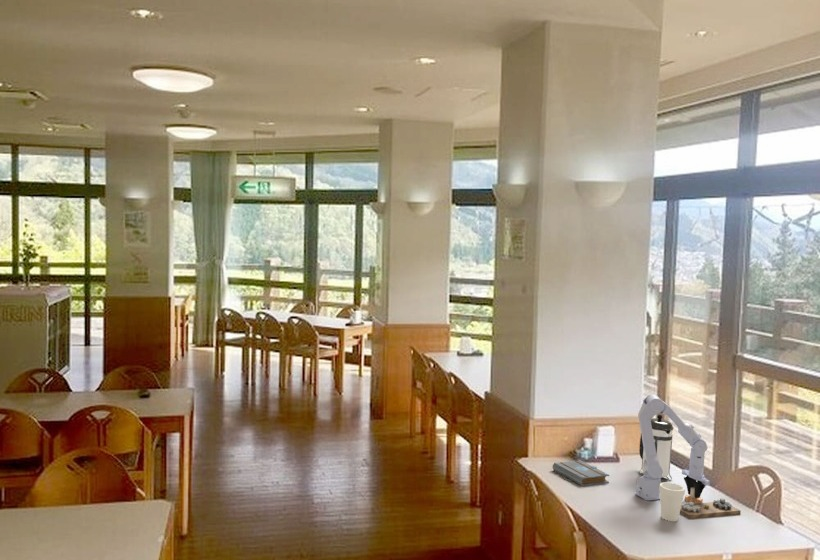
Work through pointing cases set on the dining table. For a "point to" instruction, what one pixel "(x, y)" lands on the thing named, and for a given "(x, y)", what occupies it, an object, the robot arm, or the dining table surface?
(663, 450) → the coffee press
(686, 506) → the gear
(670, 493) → the foam cup
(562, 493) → the dining table surface
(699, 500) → the loose gear
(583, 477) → the book
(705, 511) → the gear board
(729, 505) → the gear
